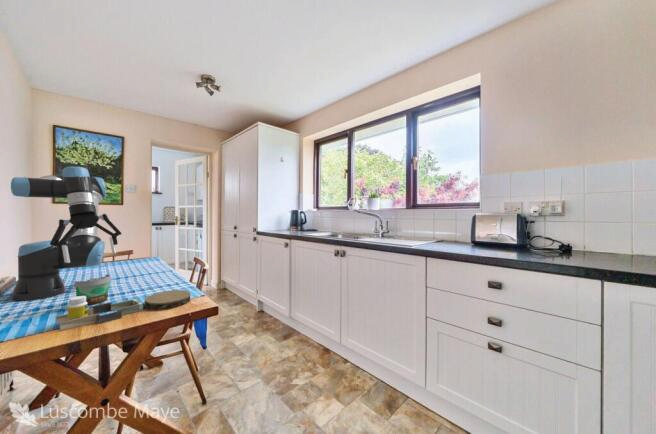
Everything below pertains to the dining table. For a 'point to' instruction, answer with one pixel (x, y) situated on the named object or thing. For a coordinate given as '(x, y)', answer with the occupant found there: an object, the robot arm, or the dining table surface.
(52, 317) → the dining table surface
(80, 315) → the supplement bottle
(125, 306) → the trap box
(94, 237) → the robot arm
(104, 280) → the food container
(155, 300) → the brown round disc
